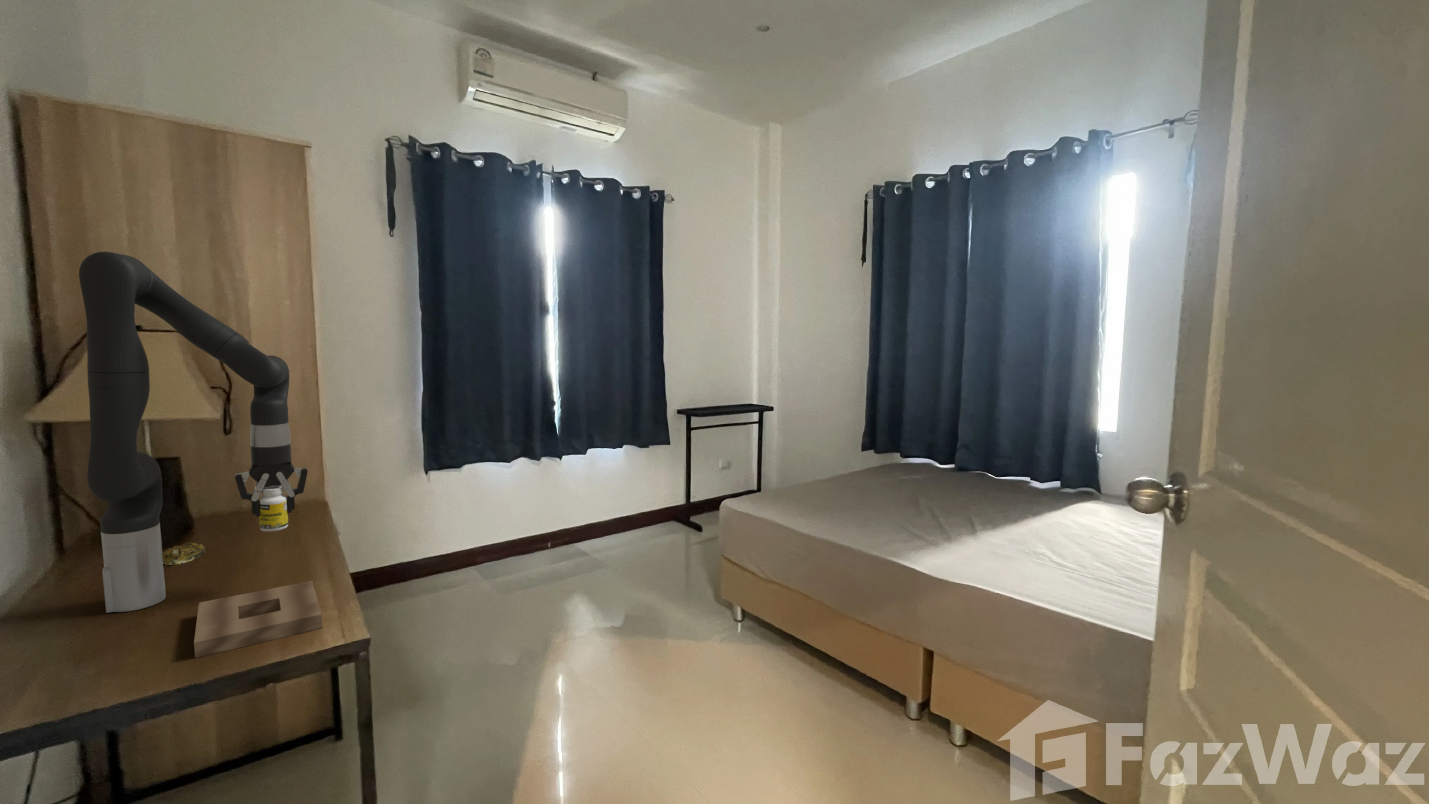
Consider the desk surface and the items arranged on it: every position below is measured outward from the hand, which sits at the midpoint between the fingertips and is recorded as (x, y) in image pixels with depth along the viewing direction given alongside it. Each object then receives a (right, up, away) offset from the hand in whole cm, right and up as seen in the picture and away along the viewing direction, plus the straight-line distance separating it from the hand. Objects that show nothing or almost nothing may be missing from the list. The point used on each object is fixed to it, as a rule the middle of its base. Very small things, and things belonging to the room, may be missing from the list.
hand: (273, 513), depth 142 cm
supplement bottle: (0, -4, 0) cm, 4 cm away
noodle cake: (-37, -15, +18) cm, 44 cm away
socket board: (+8, -20, -15) cm, 26 cm away
